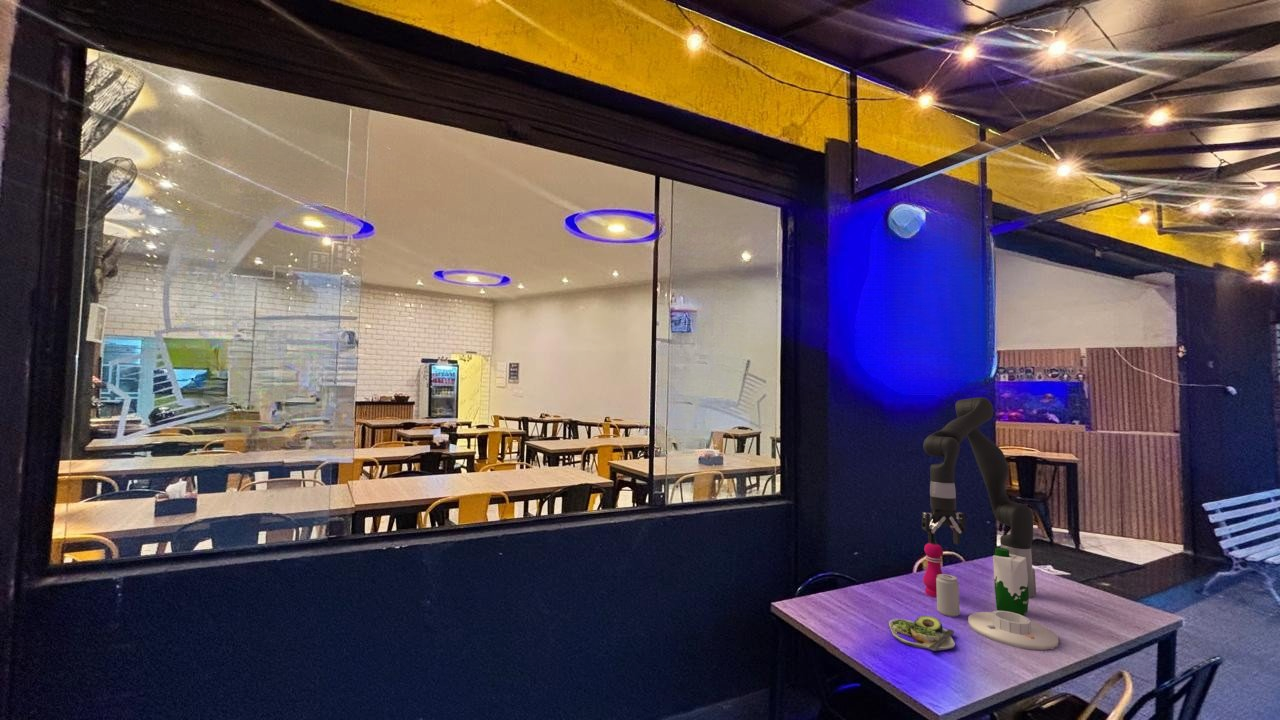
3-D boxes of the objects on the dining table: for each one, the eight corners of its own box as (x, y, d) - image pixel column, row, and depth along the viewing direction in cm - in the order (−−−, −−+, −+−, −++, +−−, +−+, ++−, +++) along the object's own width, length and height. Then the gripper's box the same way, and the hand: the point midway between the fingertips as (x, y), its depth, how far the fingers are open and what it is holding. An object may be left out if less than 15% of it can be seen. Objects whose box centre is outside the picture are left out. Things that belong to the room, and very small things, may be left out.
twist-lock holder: (1014, 616, 162) (1013, 602, 163) (1079, 649, 141) (1078, 632, 141) (952, 617, 160) (951, 603, 161) (1008, 651, 139) (1007, 634, 139)
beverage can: (961, 613, 164) (960, 576, 165) (957, 619, 159) (956, 581, 160) (939, 608, 168) (938, 571, 169) (935, 613, 163) (933, 576, 164)
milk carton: (999, 603, 173) (997, 545, 175) (1031, 612, 166) (1028, 551, 168) (992, 610, 167) (990, 549, 169) (1025, 619, 160) (1022, 556, 162)
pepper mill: (919, 592, 182) (917, 537, 184) (932, 589, 185) (930, 535, 187) (938, 599, 175) (936, 542, 177) (951, 596, 178) (949, 540, 180)
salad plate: (967, 662, 133) (966, 644, 133) (893, 649, 139) (893, 632, 140) (951, 632, 151) (951, 616, 151) (887, 621, 157) (886, 606, 158)
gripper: (954, 493, 172) (956, 541, 170) (915, 493, 171) (917, 540, 169) (970, 497, 164) (972, 547, 163) (930, 497, 163) (931, 547, 162)
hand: (944, 544), depth 166 cm, fingers open, 8 cm apart
